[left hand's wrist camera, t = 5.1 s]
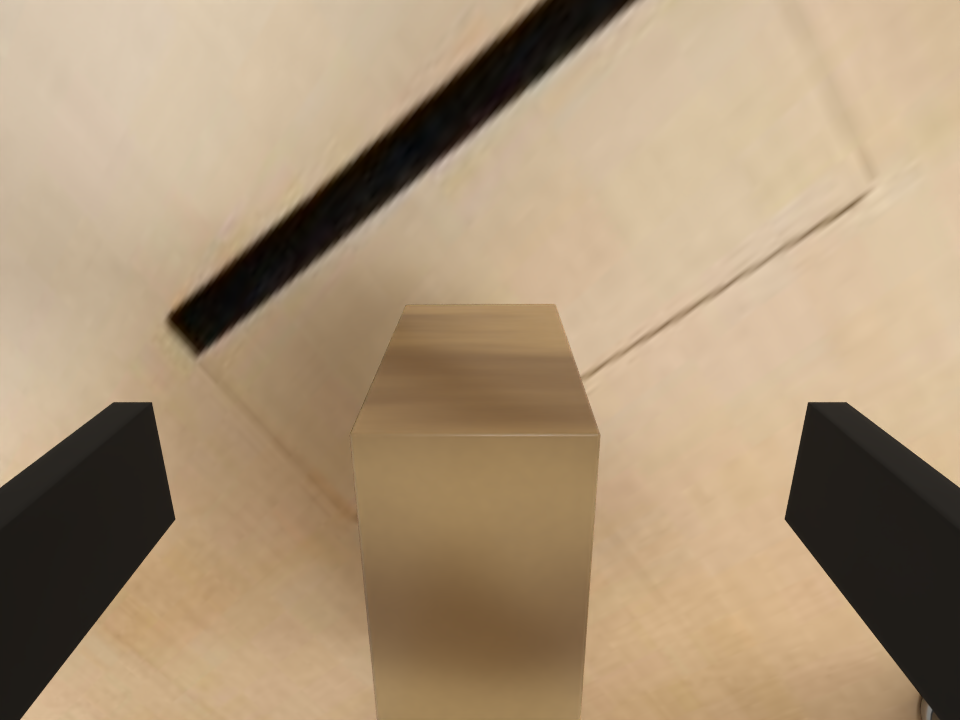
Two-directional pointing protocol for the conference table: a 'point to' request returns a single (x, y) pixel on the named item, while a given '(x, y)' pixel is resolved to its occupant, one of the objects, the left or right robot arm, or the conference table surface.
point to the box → (477, 515)
